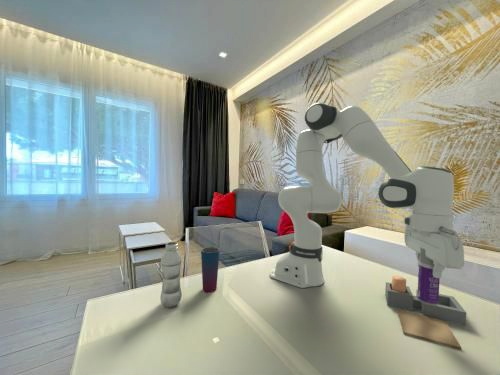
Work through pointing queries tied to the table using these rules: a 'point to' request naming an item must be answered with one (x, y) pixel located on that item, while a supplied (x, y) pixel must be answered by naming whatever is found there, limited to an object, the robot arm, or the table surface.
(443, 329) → the pad
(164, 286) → the plastic bottle
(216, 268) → the cup
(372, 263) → the table surface
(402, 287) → the peach cylinder
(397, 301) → the housing
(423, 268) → the container
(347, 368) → the table surface
